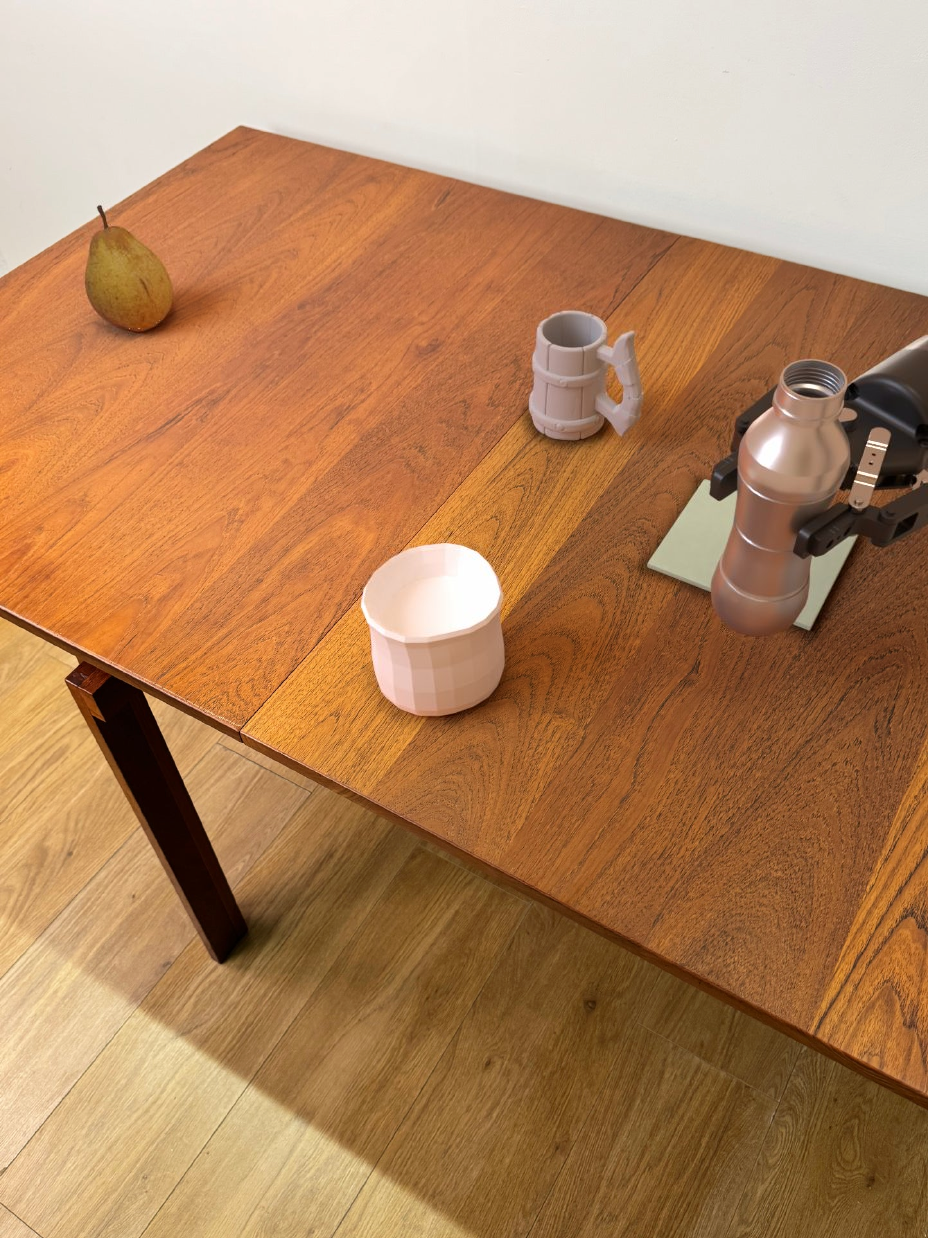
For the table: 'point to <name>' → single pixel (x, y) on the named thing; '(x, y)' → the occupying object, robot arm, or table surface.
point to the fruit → (126, 280)
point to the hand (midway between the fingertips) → (756, 515)
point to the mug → (582, 378)
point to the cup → (435, 629)
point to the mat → (704, 540)
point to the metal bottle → (781, 499)
